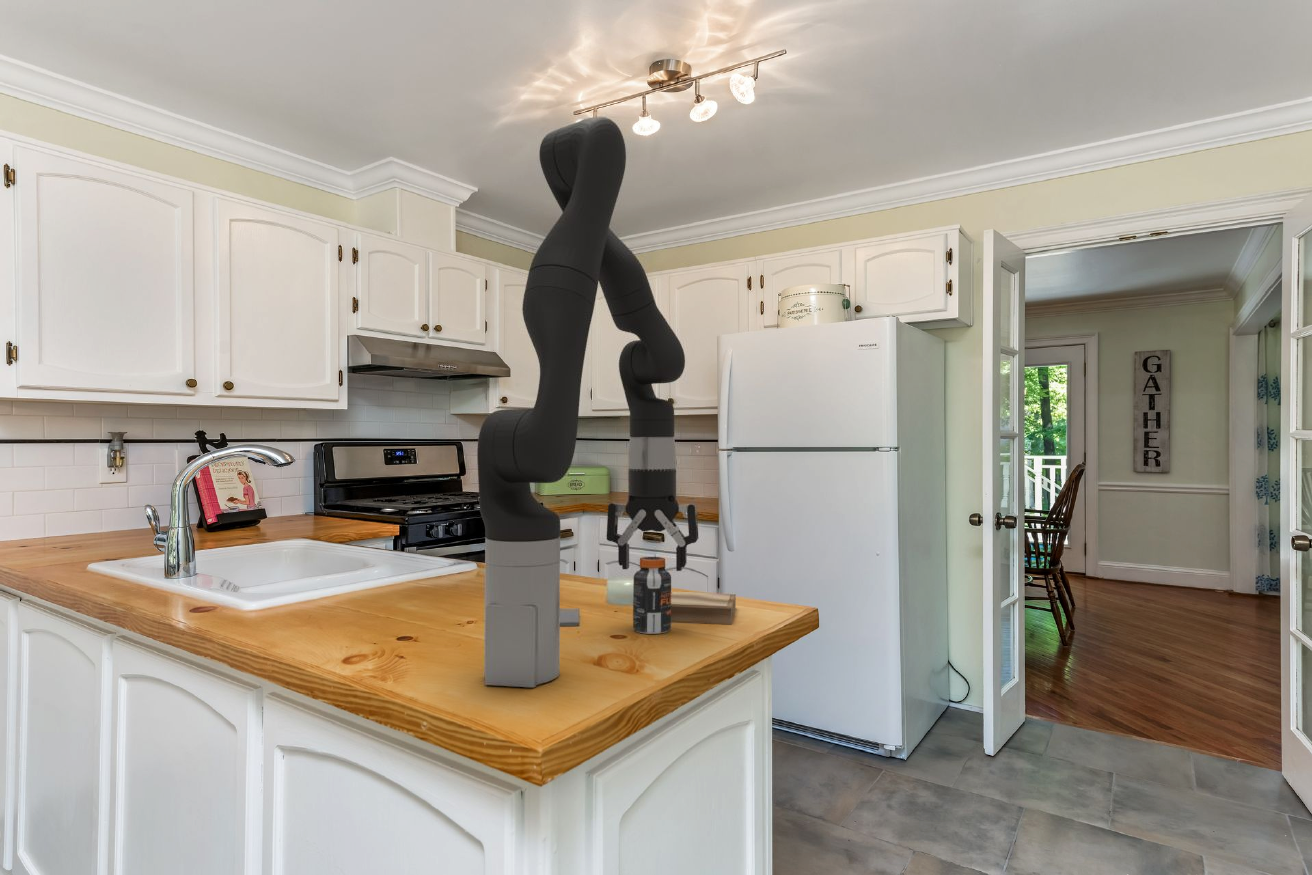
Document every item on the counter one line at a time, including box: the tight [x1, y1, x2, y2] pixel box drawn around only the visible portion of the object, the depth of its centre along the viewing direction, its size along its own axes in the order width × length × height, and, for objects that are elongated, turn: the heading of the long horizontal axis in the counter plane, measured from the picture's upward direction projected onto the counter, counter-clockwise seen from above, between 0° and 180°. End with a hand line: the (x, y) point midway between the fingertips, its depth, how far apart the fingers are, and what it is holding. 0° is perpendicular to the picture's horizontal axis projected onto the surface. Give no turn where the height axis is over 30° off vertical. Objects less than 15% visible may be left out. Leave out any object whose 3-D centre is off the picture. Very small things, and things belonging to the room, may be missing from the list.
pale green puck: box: [606, 576, 634, 607], centre depth 138 cm, size 8×8×4 cm
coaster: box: [560, 608, 580, 627], centre depth 123 cm, size 10×10×1 cm
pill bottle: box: [632, 556, 672, 635], centre depth 116 cm, size 6×6×11 cm
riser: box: [671, 591, 737, 625], centre depth 127 cm, size 12×12×3 cm
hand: (652, 569), depth 117 cm, fingers open, 8 cm apart
